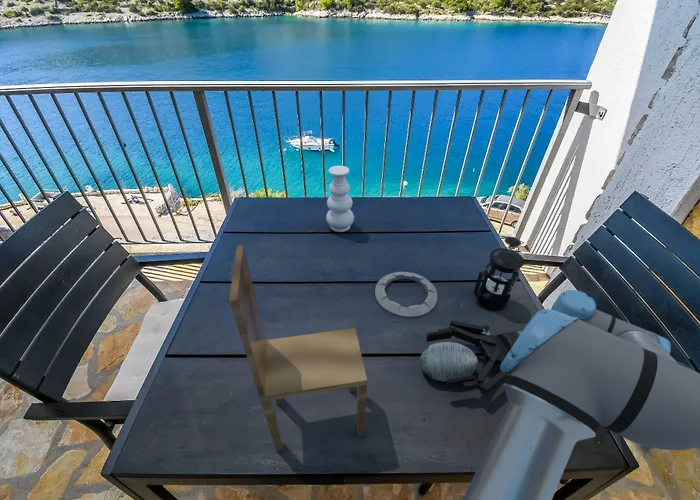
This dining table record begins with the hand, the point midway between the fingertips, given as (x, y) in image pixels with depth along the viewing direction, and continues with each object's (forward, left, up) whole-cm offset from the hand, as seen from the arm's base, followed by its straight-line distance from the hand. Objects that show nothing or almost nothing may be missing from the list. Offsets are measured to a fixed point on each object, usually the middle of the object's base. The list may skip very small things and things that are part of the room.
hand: (436, 359), depth 84 cm
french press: (+21, -26, -6) cm, 34 cm away
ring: (+28, -1, -6) cm, 29 cm away
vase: (+68, +14, -6) cm, 70 cm away
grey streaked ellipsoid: (0, -3, -6) cm, 7 cm away
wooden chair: (-6, +30, -6) cm, 31 cm away
